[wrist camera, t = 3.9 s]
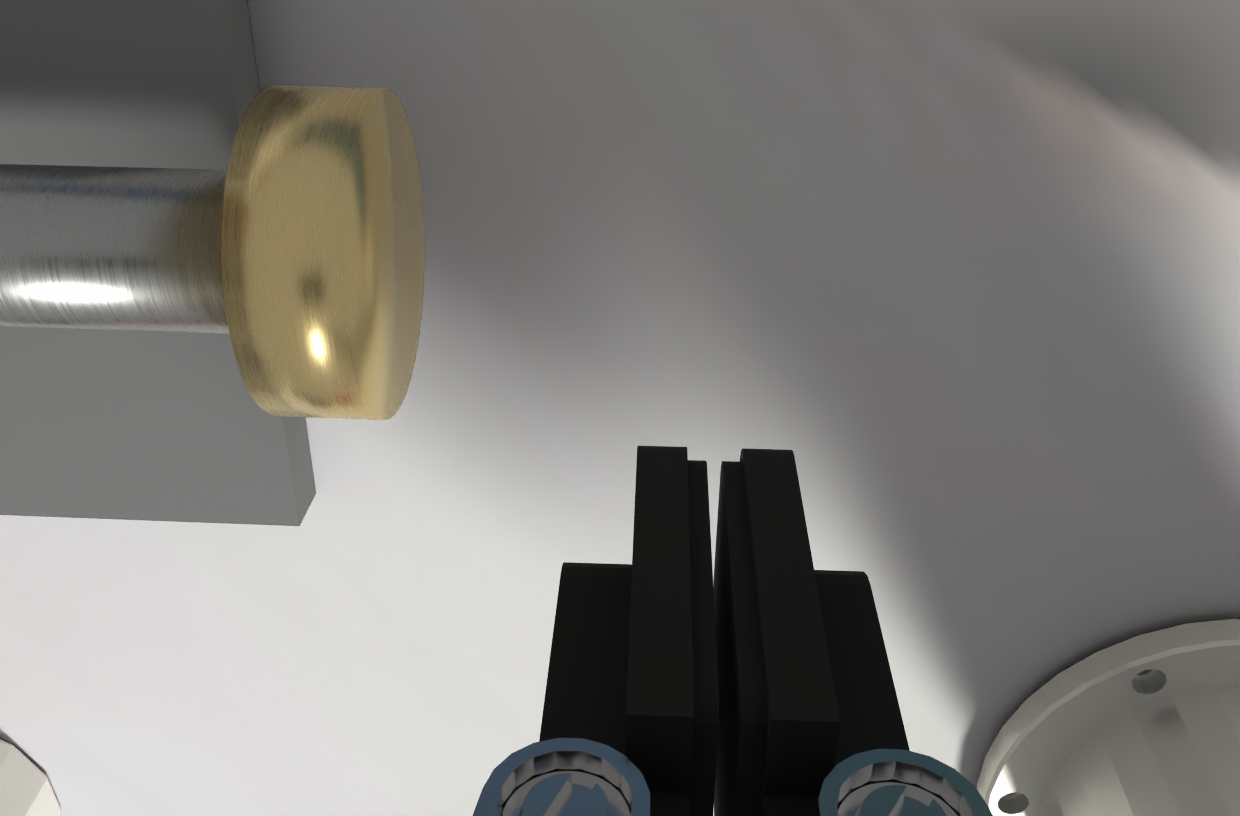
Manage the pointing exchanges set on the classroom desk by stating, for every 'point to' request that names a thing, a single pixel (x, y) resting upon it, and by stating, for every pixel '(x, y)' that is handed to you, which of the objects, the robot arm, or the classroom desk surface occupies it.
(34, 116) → the base mat
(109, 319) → the shaft
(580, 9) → the classroom desk surface
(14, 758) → the white cup
